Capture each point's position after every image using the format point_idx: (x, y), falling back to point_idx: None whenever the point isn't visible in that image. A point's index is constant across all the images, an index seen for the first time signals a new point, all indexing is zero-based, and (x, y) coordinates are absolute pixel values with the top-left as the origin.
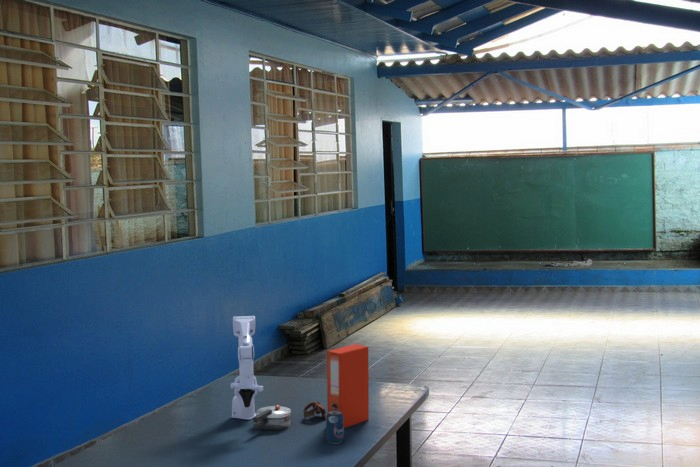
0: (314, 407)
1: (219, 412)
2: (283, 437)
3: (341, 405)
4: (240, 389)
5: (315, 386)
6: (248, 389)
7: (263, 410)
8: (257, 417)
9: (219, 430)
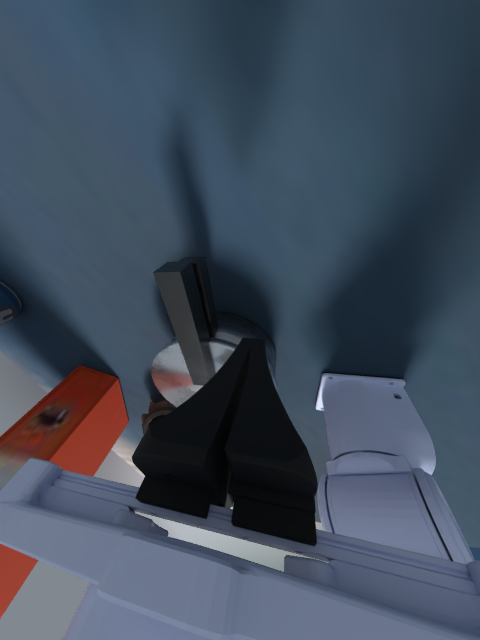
0: (145, 425)
1: (471, 410)
2: (117, 271)
3: (22, 418)
4: (311, 518)
5: None
6: (176, 505)
7: None
8: (159, 280)
9: (411, 238)
